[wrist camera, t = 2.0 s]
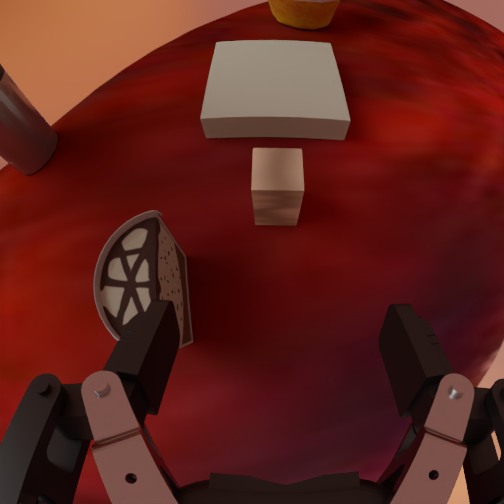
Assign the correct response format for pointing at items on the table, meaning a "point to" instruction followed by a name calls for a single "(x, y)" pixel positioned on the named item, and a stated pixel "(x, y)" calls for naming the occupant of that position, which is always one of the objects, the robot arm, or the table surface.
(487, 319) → the table surface
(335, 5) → the bucket of meat
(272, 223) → the birch block
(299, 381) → the table surface
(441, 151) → the table surface
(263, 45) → the base board
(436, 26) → the table surface
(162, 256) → the food container
